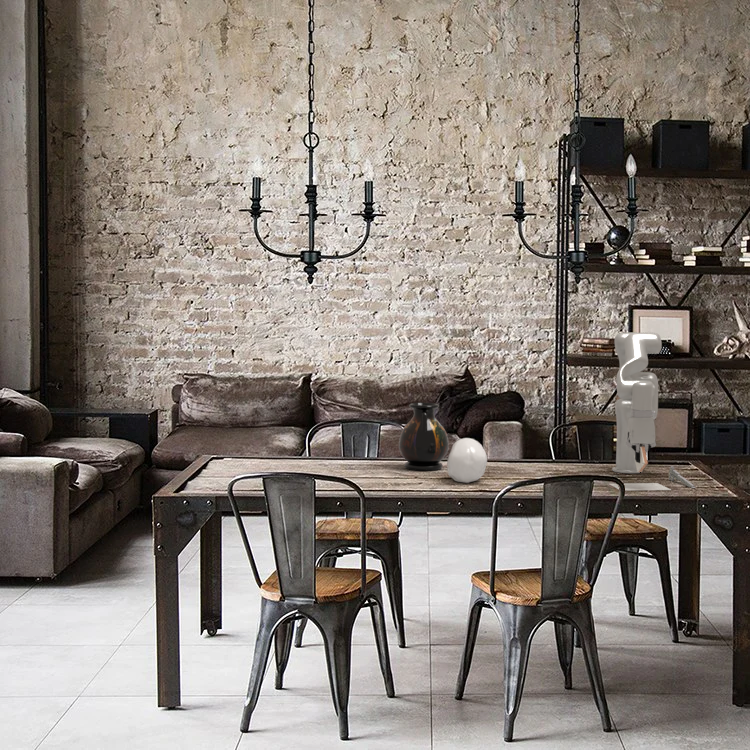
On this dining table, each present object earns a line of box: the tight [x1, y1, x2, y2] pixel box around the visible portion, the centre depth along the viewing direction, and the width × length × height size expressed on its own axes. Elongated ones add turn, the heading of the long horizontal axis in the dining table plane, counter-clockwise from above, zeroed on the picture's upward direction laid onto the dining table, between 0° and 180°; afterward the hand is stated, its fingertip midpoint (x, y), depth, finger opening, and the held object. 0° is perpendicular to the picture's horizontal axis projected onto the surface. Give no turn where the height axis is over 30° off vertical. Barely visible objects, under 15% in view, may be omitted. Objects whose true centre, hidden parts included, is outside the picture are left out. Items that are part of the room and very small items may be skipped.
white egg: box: [446, 437, 488, 484], centre depth 405 cm, size 16×20×22 cm
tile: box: [634, 446, 649, 473], centre depth 385 cm, size 8×2×7 cm
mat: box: [608, 482, 672, 492], centre depth 390 cm, size 15×20×1 cm
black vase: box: [398, 402, 450, 472], centre depth 434 cm, size 22×22×28 cm
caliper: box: [668, 465, 696, 489], centre depth 399 cm, size 20×1×6 cm, turn 11°
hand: (640, 462), depth 385 cm, fingers closed on tile, 1 cm apart
